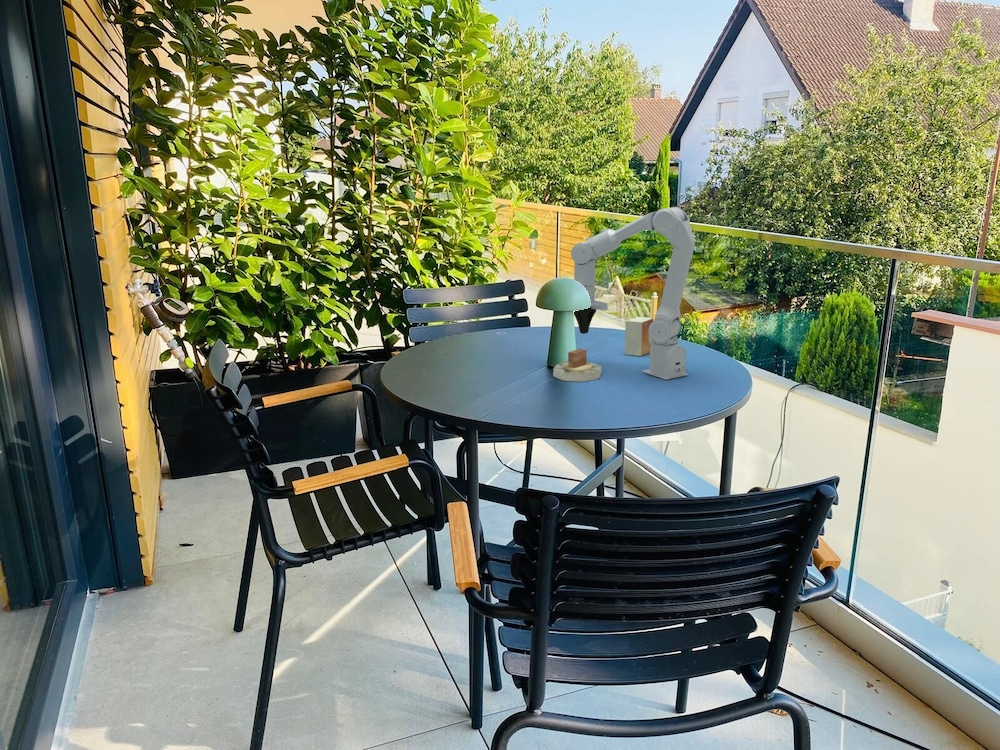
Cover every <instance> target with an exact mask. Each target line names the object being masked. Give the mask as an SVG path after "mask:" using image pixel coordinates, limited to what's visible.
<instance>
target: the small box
mask: <svg viewBox="0 0 1000 750" xmlns="http://www.w3.org/2000/svg"><path fill="white" fill-rule="evenodd" d="M653 321H654V318H653V317H645V316H636V317H633V318H631V319H627V320H625V327H624V328H625V331H624V333H625V335H624V339H625V340H624V354H625V355H628V356H636V357H637V356H638V357H642V356H644V355H647V354H649V353H650V348H651V338H650V336H649V334H648V329H649V326H650V324H651V323H652V322H653Z"/></svg>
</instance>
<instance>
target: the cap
mask: <svg viewBox="0 0 1000 750" xmlns="http://www.w3.org/2000/svg"><path fill="white" fill-rule="evenodd" d="M567 359H568V361H567V362H568V363H566V362H564V363H565V364H564V365H563V368H564V369H565V370H569V371H586V370H590V369H591V368H592V365H591V364H590V363H586V362H587V349H583V348H578V349H575V350H571V351H568V357H567Z"/></svg>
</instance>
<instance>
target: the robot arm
mask: <svg viewBox="0 0 1000 750" xmlns="http://www.w3.org/2000/svg"><path fill="white" fill-rule="evenodd" d="M690 223H691V220H690V217H689V216H688V214H687V213H686V212H685V211H684V210H683V208H681V207H678V206H672V207H669V208H665V207H664V208H660V209H658V210H657V211H653V212H649V213H646V214H645V215H642V216H640V217H638V218H636V219H635V220H633V221H631V222H629V223H627V224H626V225H623V226H622V227H620V228H618V229H617V230H614V229H611V228H608V229H607V228H603V229H601V230H599V231H600V233H598V234H595V235H593V236H592V237H591V236H589V237H585V241H583V242H581V241H579V242H577V243H576V244H575V245H573V247H572V248H571V250H570V256H571V259H572V260H573V262H574V264H573V265H574V266H573V267H574V269H573V270H574V271H573V277H574V279H573V281H574V280H576V281H578V282H580V283H581V284H582V285H583V286H584V287H585V288H586V290H587V291H588V293H589V296H590V299H591V306H590V308H588V309H584V310H579V311H575V312H574V314H573V316H574V317H575V320H576V322H577V325H578V329H579V333H580V334H584V335H585V334H588V333H589V331H590V326H591V323H592V320H593V318H594V317H595V314H596V312H597V310H600V311H601V312H602V311H603V312H604V311H608V310H609V308H608V307H609V305H608V304H609V303H608V302H603V301H598V300H596V299H595V291H596V289H595V288H596V287H595V286H596V285H595V282H596V280H595V278H596V277H595V276H596V274H595V273H596V268H595V266H596V264H595V262H596V260H597V259H598V258H600V257H602V256H605V255H607V254H609V253H610V252H613V251H615V250H617V249H618V248H619V247H620V245H621V243H622V241H625V240H627V239H628V238H631V237H633V236H635V235H638V234H640V233H643V232H644V231H651V232H653V231H656V232H657V233H658V234H660V235H662V236H663V237H664V238H666V240H667V241H668V242H669V243H670V245H671V246H672V248H673V249H672V254H671V258H670V261H669V266H668V270H667V274H666V279H665V283H664V287H663V291H662V296H661V300H660V304H659V307H658V309H657V310H656V313H655V315H654V318H653V322H652V323H651V324H650V326H649V329H648V334H649V336H650V338H651V348H650V352H649V353H650V355H649V356H650V357H649V368H648V369H644V370H642V373H645V374H648V375H651V376H653V377H657V378H660V379H663V380H666V381H667V380H671V379H676V378H681V377H686V376H688V372H686V371H687V370H686V369H687V350H686V349H685V348H684V346H681V344H680V343H679V338H678V336H677V335H679V333H680V331H681V327H682V325H681V324H682V323H681V314H682V313H681V310H680V307H681V304H682V298H683V295H684V292H685V291H684V290H685V288H686V287H685V286H686V282H687V278H688V274H689V270H690V265H691V261H692V258H693V253H694V250H695V246H696V239H695V237H694V233H693V229H692V226H691V224H690Z"/></svg>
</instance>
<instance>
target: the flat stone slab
mask: <svg viewBox="0 0 1000 750" xmlns="http://www.w3.org/2000/svg"><path fill="white" fill-rule="evenodd" d="M565 363H568V361H567V362H562V363H557V364H556V365H555V366H554V367H553V369H552V370H553V372H552V373H553V374H552V375H553V378H556V379H558V380H561V381H564V382H580V383H584V382H590V381H594V380H599V379H600V378H601V375H602V370H603V369H602V365H599V364H597V363H593V362H591V361H586V363H590V364H591V365H592V368H591V369H590V370H586V371H569V370H565V369H564V368H563V365H564V364H565Z"/></svg>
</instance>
